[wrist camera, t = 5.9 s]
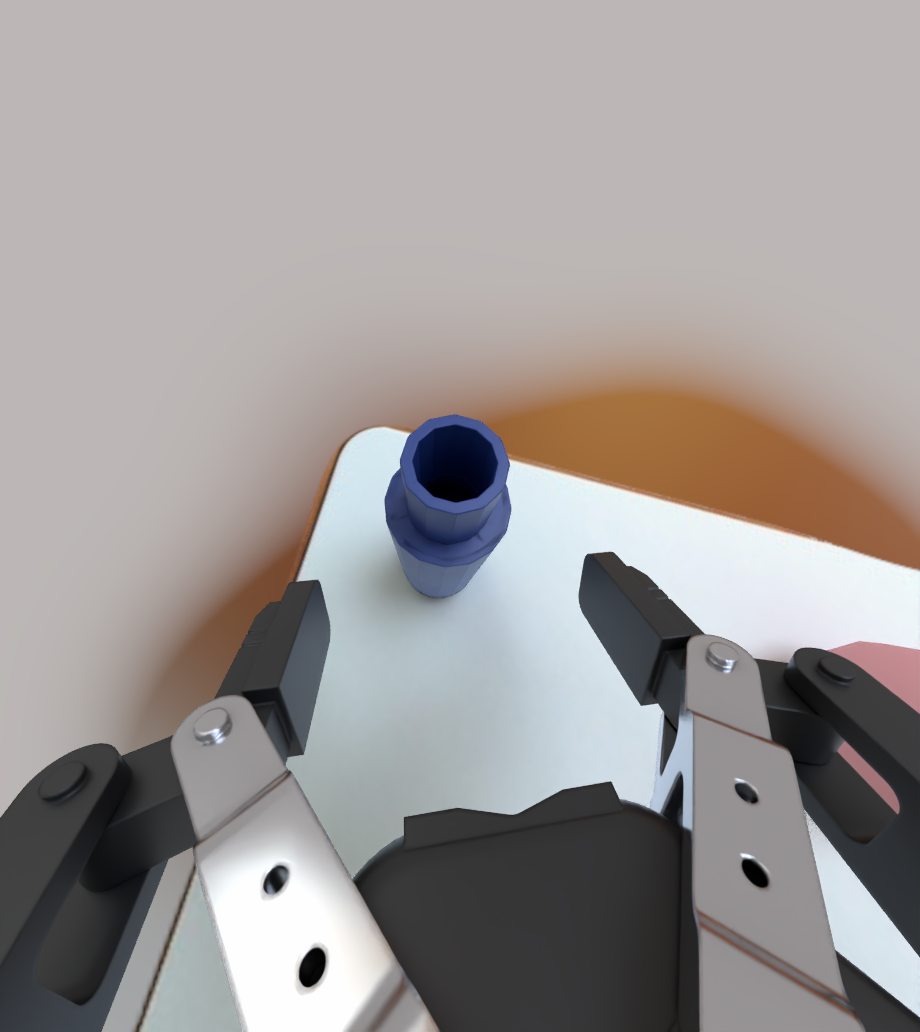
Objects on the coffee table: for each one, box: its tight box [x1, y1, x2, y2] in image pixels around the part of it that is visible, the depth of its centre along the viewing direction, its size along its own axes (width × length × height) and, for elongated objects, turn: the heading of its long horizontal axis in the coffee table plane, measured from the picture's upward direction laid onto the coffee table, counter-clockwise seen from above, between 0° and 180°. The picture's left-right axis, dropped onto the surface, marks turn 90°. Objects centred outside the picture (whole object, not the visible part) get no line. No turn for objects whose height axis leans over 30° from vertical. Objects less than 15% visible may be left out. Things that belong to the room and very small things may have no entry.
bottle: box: [385, 415, 511, 598], centre depth 15 cm, size 4×4×13 cm
